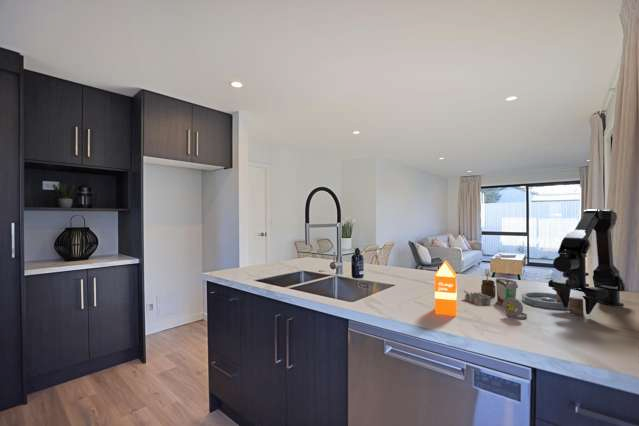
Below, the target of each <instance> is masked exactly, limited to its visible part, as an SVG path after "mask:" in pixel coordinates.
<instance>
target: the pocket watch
mask: <svg viewBox="0 0 639 426" xmlns="http://www.w3.org/2000/svg"><path fill="white" fill-rule="evenodd" d="M509 292H513V291H509ZM509 292H508V293H509ZM514 293H515V292H514ZM509 294H510V293H509ZM510 295H511V296H512V297H509V298H506V299H505V300H504V301H503V305H502V309H503V311H504V312H505V313H506V315H507V316H509V317H511V318H515V319H526V318H528V314H527V313H524V312H523V311H524V306H523V304H522V302H521V301H520V300H519V299H517V298H513V296H515V295H516V296H517V292H516V293H515V295H513V293H512V294H510ZM507 304H508V306H507ZM508 307H510V308H508Z"/></svg>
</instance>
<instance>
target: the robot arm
mask: <svg viewBox="0 0 639 426" xmlns="http://www.w3.org/2000/svg"><path fill="white" fill-rule="evenodd" d="M617 219H618V215H617V212H615V211H613V209H599V208H597V209H596V208H593V209H590V208H589V209H585V210H583V214H582V217H581V218H580V220H579V222H578V223H577V225H576V227H575V229H574V230H573V231H570V232H568V233H566V234H565V236H564V237H563V238H562V240H561V242H560V245H559V248H558V251H557V254H558V256H557V257H556V258H554V260H553V263H552V265H553V267H554V269H555V270H557V271H558V272H560V273H562V276H558V277H557V278H555V279H549V281H548V287H549V288H551V289H552V291H554V292H557V293H558V294H559V296H560V298H561V300H562V303H563V305H564V307H565V308H567V307H568V304H569V298H570V297H571V296H570V295H571V291H572V290H573V291H576V292H577V291H578V292H581V293H583V294H584V295H582V299H583V300H585V301H584V303H585V304H584V305H585V314H586V315H590V314H591V313H592V311H593V310H594V308H595V306H596V305H597V304H598V303H600V304H604V305H608V306H611V307H612V306H624V303H623V302H620V299H621V298H620V296H621V295H620V292H625V291H626V284H625V282H624V280H623V278H622V277H621V275H620V274H621V273H620V270H619V269H618V268H617V267H616V266H615V265H614V255H613V242H612V229H614V227H615V226H616V224H617V222H616V221H617ZM593 231H594V232H595V240H596V251H597V255H596V256H597V266H596V268H595V269H594V270H593V271H592V273H593V274H592V282H593V286H591V287H590V284H589V283H587V277H589V272H587V271H586V268H587V267H586V261H587V260H586V258H587V257H588V256H587V254H588V252H589V249H590V248H591V242H590V239H589V238H590V235H591V233H592V232H593Z"/></svg>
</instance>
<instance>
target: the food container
mask: <svg viewBox="0 0 639 426" xmlns="http://www.w3.org/2000/svg"><path fill="white" fill-rule="evenodd" d="M495 284H496V285H495V287H496V299H497V300H496V302H498V303H499V304H500V305H502V306H503V301H504V300H505V299H506V298H509V297H512V296H511V295H510V294H512V293H513V295H515V293H516V295H515V296H513V298H516V296H517V289H519V284H518V283H517V281H515V280H513V279H507V278H495ZM509 291H513V292H509ZM508 292H509V293H510V294H509V293H508ZM514 292H515V293H514ZM516 299H517V298H516ZM507 306H508V304H507ZM508 308H510V307H508Z"/></svg>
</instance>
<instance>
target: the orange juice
mask: <svg viewBox="0 0 639 426" xmlns="http://www.w3.org/2000/svg"><path fill="white" fill-rule="evenodd" d="M457 283H458V282H457V273H456V271H454V269H453V267H452V266H451V265H450V263H449V262H448V261H447V259H445V261H443V263H442V264H441V266H440V267H439V268H438V269H437V271H436V272H435V274H434V313H435V314H436V315H445V316H452V317H457V312H458V309H457V308H458V307H457V305H458V304H457V293H458V292H457Z"/></svg>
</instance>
